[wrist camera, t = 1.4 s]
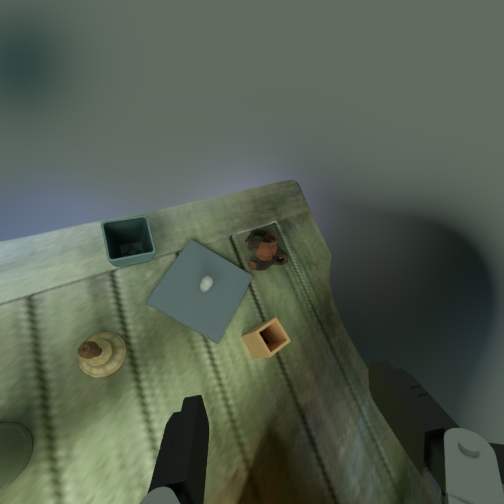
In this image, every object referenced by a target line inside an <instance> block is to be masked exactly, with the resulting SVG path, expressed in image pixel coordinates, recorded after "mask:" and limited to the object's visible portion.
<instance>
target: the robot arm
mask: <svg viewBox="0 0 504 504" xmlns="http://www.w3.org/2000/svg"><path fill="white" fill-rule="evenodd" d="M368 371H369V389H370V393H371V396H372V399H373V401H374V402H375V404H376V406H377V407H378V409H379V410H380V412H381V413H382V415H383V417H384V418H385V420H386V421H387V423H388V424H389V426H390V428H391V429H392V431H393V432H394V434H395V435H396V437H397V439H398V440H399V442H400V443H401V445H402V446H403V448H404V450H405V451H406V453H407V454H408V456H409V458H410V459H411V461H412V462H413V464H414V465H415V467H416V469H417V470H418V472H419V473H420V475H421V476H422V478H428V477H434V479H435V480H436V482H437V483H438V485H439V486H440V488H441V504H504V445H502V444H494V443H488V442H487V441H486V440H484V439H483V438H482V437H480V436H479V435H477V434H476V433H474V432H472V431H469V430H466V429H462V428H460V427H459V426H458V425H457V424H456V423H455V422H454V421H453V420H452V419H451V417H449V415H448V414H447V413H446V412H445V411H444V410H443V409H442V408H441V407H440V405H439V404H438V403H437V402H436V401H435V400H434V399H433V398H432V397H431V396H430V395H429V394H428V392H427V391H426V390H425V389H424V388H423V387H421V385H420V383H419V382H418V381H417V380H416V379H415V378H414V377H413V376H412V375H411V374H409V373H407V372H405V371H404V370H403V369H401V368H399V369H394V367H393V366H392V365H391V364H390V363H389V362H388V361H387V360H386V359H381V360H375V361H370V362H369V364H368ZM208 443H209V422H208V417H207V414H206V410H205V406H204V403H203V399H202V396H201V395H196V396H191V397H186V398H184V400H183V405H182V409H181V412H175V413H173V414H172V416H171V417H170V419H169V421H168V422H167V424H166V427H165V431H164V434H163V439H162V442H161V446H160V450H159V453H158V457H157V461H156V465H155V469H154V472H153V476H152V480H151V484H150V488H149V491H148V493H147V495H146V496H145V497H144V498H143V500H142V501H141V502H140V504H203V502H204V490H205V479H206V467H207V455H208ZM32 446H33V443H32V437H31V435H30V432H29V431H28V430H27V429H26V428H25V427H24V426H22V425H20V424H17V423H12V422H6V423H0V491H1V490H2V489H3V488H5V487H6V486H7V485H8V484H10V483H11V482H12V481H13V480H15V479H16V478H17V477H18V476H19V475H20V474H21V472H22V471H23V469H24V468H25V467H26V465H27V463H28V461H29V459H30V456H31V453H32Z"/></svg>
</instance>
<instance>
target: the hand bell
mask: <svg viewBox="0 0 504 504" xmlns="http://www.w3.org/2000/svg"><path fill="white" fill-rule="evenodd" d="M78 353H79V356H78V362H79V366H80V368H81V370H82V371H83V372H84V373H85V374H87V375H89V376H91V377H97V378H98V377H105V376H108V375H110V374H112V373H114V372H115V371H116V370H118V369H119V368H120V366H121V365H122V364H123V362H124V360H125V358H126V353H127V348H126V343H125V341H124V340H123V338H122V337H121V336H119V335H118V334H116V333H113V332H101V333H98V334H95V335H93V336H92V337H90V338H89V339H88V340H87V341H86V342H84V343H83V344H82V345H81V346H80V347H79V350H78Z"/></svg>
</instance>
